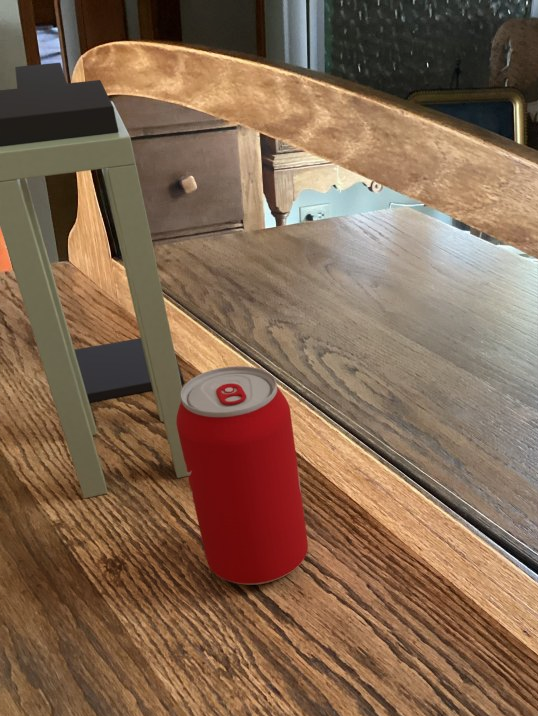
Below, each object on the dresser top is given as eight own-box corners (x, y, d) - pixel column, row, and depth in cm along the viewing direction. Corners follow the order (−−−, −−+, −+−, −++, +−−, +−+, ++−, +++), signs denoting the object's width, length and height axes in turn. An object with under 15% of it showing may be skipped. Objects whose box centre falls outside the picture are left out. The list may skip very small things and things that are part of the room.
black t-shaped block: (-11, 89, 61) (-17, 66, 60) (94, 78, 63) (89, 56, 62) (-12, 148, 49) (-20, 120, 48) (118, 132, 50) (113, 105, 49)
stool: (74, 429, 69) (-20, 115, 55) (178, 408, 71) (112, 100, 57) (84, 498, 61) (-22, 154, 48) (199, 473, 63) (130, 136, 50)
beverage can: (293, 520, 58) (271, 353, 51) (321, 577, 54) (301, 401, 46) (199, 544, 57) (161, 374, 49) (219, 604, 52) (181, 427, 45)
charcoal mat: (66, 359, 78) (63, 351, 78) (168, 341, 81) (167, 332, 80) (72, 406, 72) (70, 397, 71) (184, 384, 74) (182, 376, 73)
